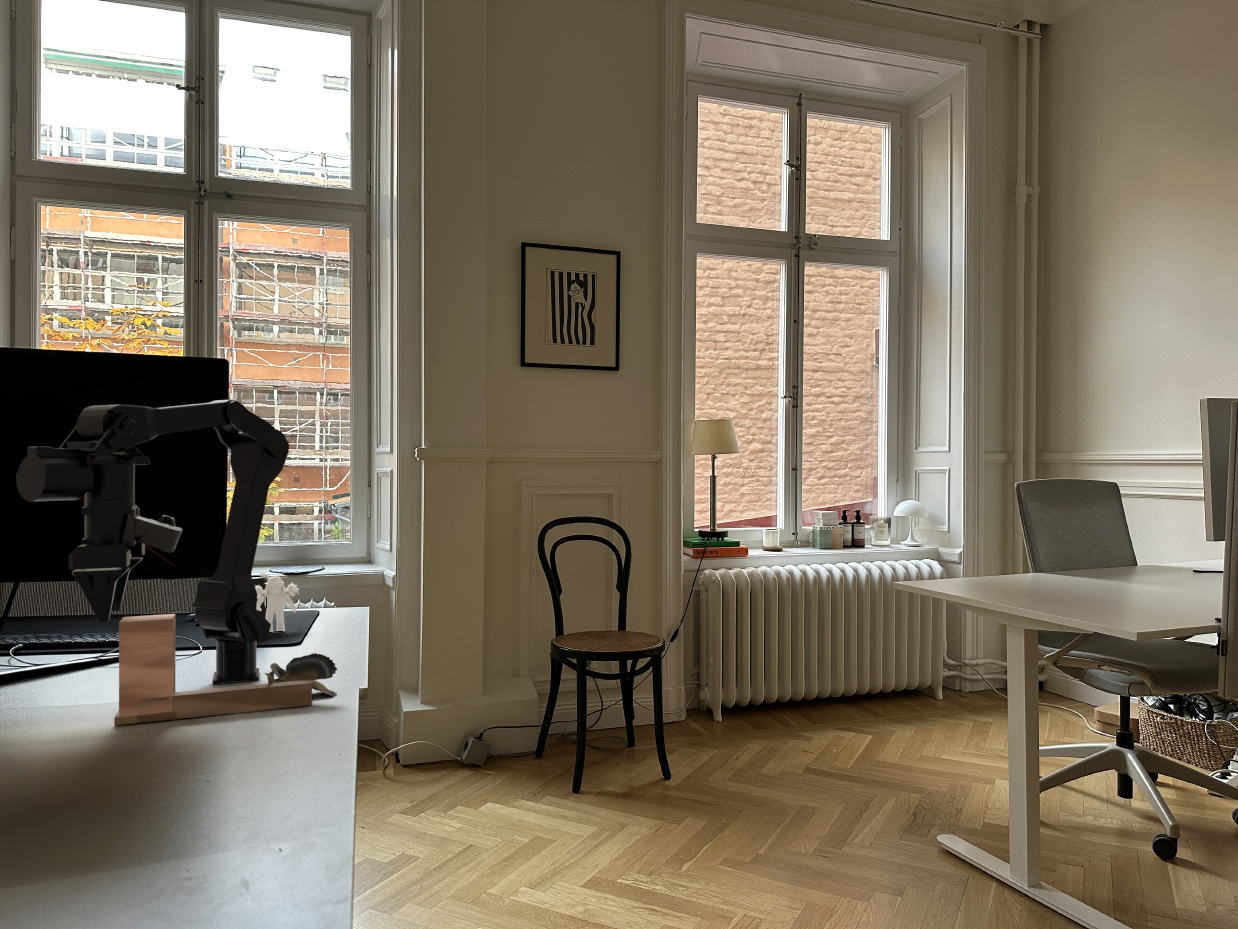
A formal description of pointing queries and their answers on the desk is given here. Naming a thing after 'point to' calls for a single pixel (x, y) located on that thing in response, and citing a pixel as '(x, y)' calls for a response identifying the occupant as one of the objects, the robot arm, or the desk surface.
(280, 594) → the blocky character figurine
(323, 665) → the brown squirrel figurine
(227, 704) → the wooden l-shaped stand
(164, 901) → the desk surface
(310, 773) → the desk surface
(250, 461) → the robot arm
